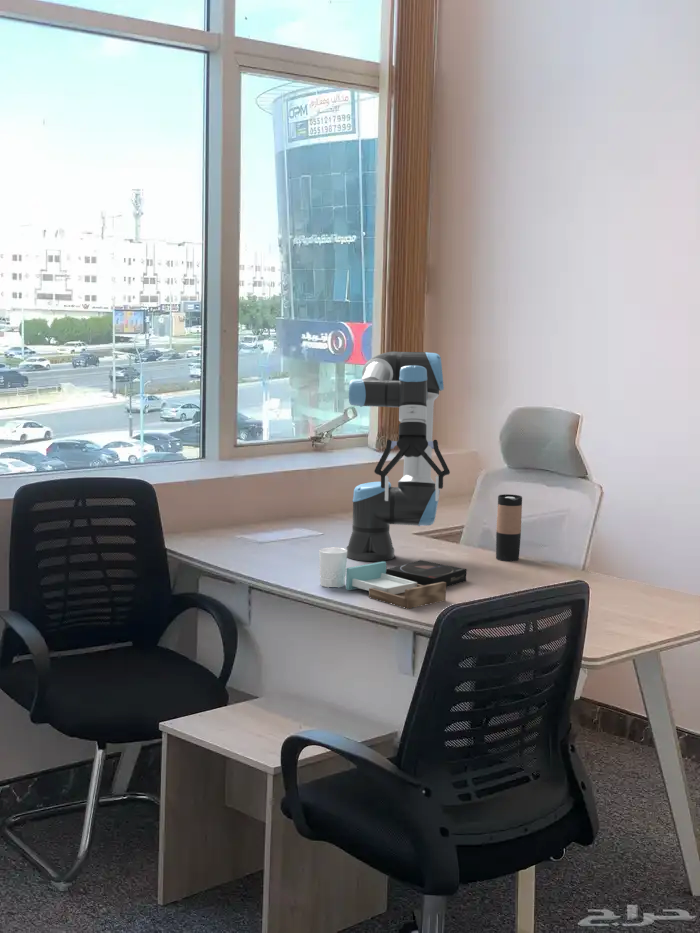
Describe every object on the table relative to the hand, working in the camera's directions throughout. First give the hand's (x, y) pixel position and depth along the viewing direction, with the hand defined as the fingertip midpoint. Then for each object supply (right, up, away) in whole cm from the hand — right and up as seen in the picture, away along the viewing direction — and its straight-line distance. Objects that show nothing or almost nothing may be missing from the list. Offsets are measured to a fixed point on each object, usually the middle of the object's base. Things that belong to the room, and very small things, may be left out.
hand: (411, 500), depth 313 cm
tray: (-8, -25, +8) cm, 27 cm away
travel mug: (+33, -20, +54) cm, 66 cm away
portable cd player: (+5, -24, +22) cm, 33 cm away
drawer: (-1, -27, +1) cm, 26 cm away
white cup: (-22, -24, +14) cm, 35 cm away
